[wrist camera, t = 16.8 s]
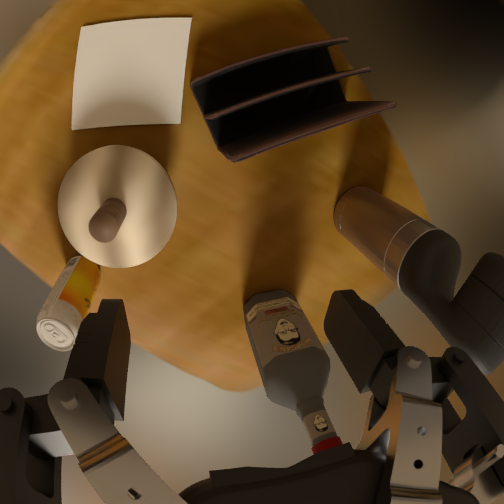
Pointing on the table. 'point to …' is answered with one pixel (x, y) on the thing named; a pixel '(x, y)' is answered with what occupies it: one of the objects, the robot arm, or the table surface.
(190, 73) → the table surface
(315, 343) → the liquor
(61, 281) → the beer can
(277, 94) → the letter holder
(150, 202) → the lid
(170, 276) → the table surface
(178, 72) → the mat
